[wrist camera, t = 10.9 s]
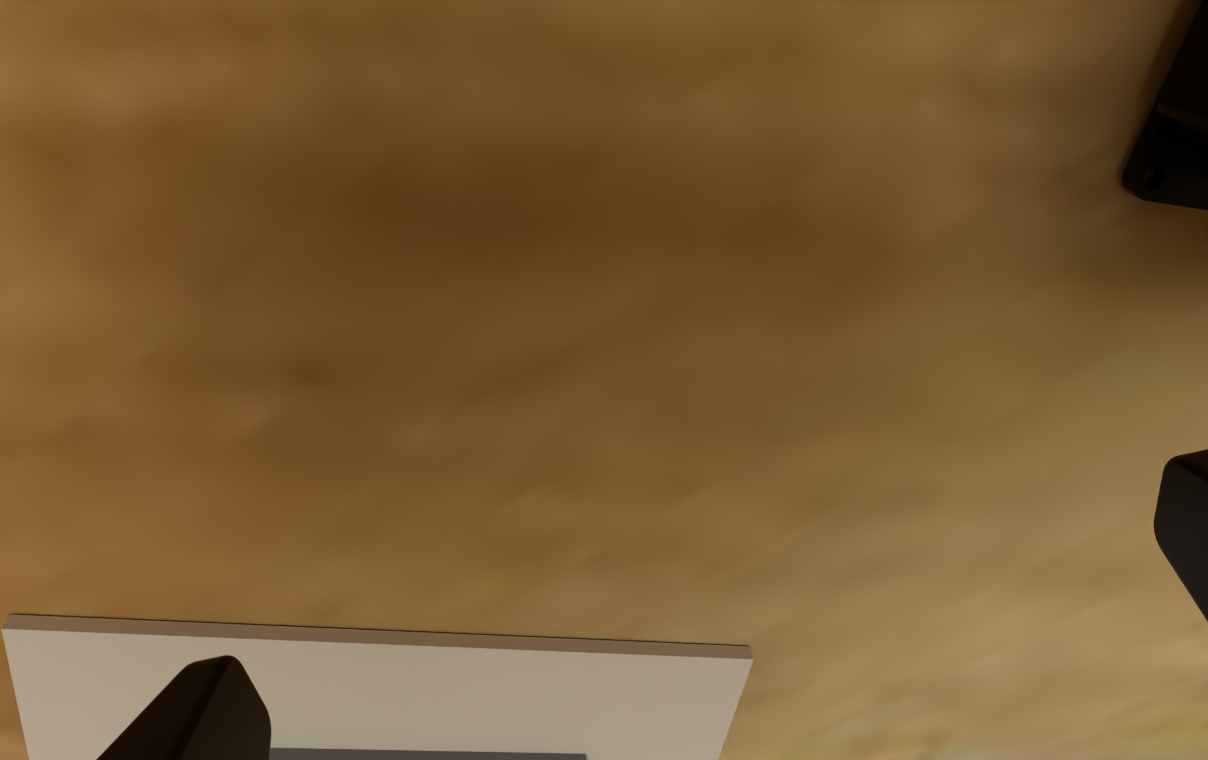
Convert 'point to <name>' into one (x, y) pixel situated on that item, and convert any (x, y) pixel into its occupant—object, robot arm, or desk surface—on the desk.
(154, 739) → the robot arm
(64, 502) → the desk surface
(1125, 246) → the desk surface
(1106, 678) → the desk surface
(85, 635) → the socket plate
